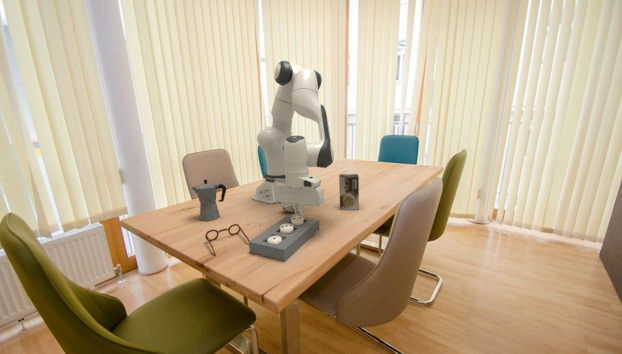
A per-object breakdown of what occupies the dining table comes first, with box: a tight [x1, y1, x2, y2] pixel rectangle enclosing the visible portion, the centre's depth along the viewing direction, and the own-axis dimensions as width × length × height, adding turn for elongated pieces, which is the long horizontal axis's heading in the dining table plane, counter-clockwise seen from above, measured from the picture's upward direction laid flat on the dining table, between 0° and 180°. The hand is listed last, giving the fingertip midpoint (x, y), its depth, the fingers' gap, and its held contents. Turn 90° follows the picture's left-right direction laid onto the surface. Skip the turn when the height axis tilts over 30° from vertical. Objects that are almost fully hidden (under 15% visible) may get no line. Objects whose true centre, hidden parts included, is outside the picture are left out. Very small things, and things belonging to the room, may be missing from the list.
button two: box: [291, 215, 304, 226], centre depth 105 cm, size 5×5×4 cm
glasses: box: [204, 223, 250, 257], centre depth 98 cm, size 13×13×5 cm
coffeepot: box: [191, 179, 227, 222], centre depth 122 cm, size 15×9×18 cm, turn 92°
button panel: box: [248, 214, 320, 262], centre depth 99 cm, size 14×26×4 cm, turn 154°
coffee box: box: [338, 173, 360, 211], centre depth 129 cm, size 9×6×16 cm
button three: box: [280, 223, 293, 235], centre depth 98 cm, size 5×5×4 cm
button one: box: [267, 236, 282, 245], centre depth 92 cm, size 5×5×4 cm
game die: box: [278, 202, 300, 215], centre depth 126 cm, size 9×8×10 cm
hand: (299, 214), depth 105 cm, fingers closed
